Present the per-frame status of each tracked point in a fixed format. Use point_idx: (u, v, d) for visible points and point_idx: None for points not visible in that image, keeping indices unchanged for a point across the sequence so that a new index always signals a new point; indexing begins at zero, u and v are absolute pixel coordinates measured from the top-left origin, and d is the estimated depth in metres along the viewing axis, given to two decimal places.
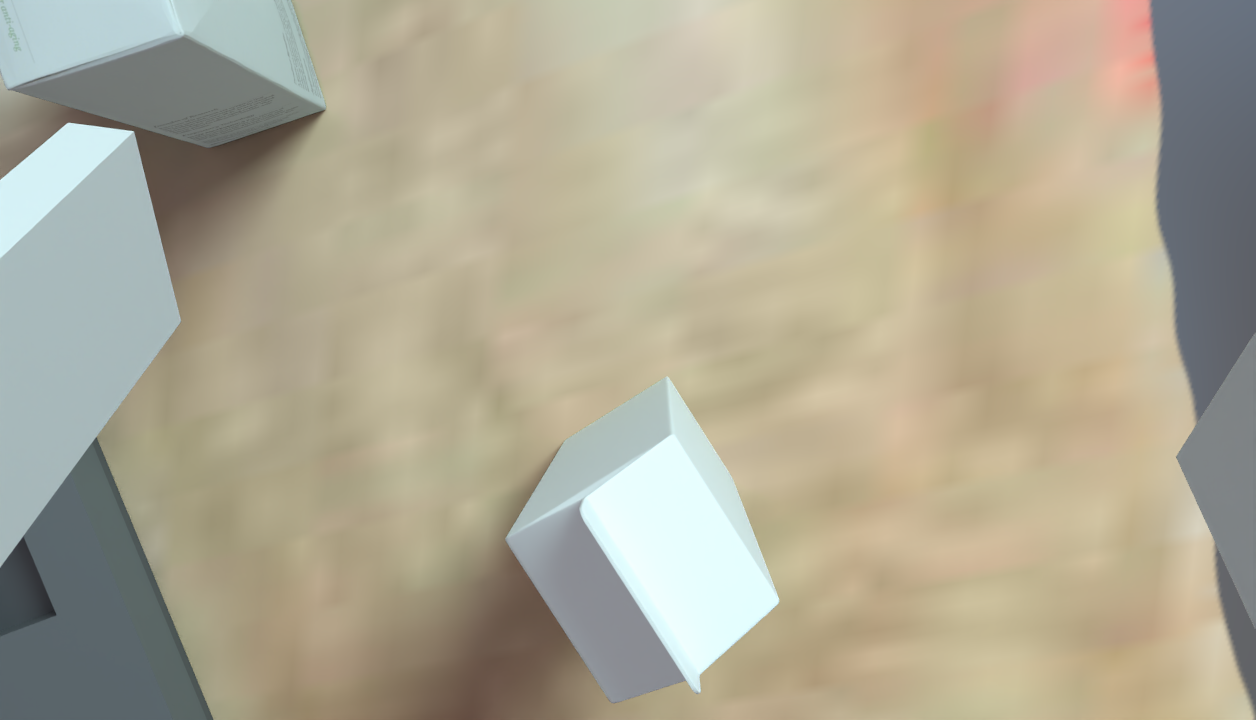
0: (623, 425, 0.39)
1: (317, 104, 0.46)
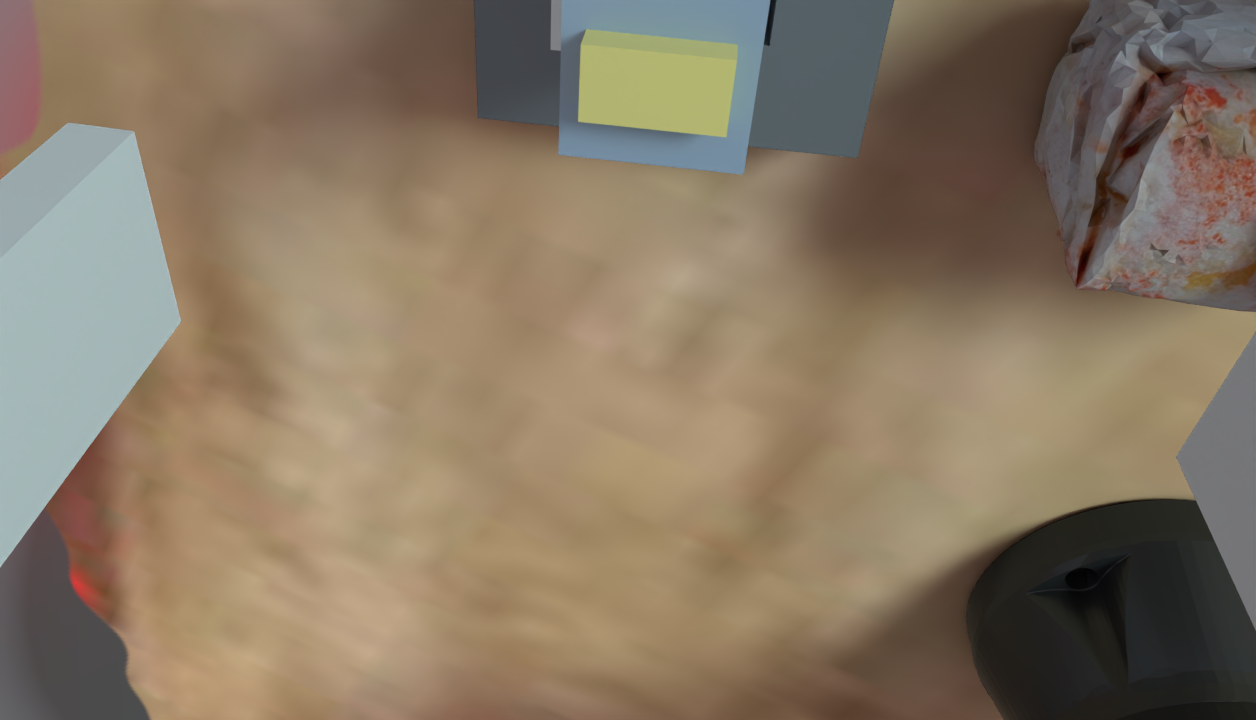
0: None
1: None
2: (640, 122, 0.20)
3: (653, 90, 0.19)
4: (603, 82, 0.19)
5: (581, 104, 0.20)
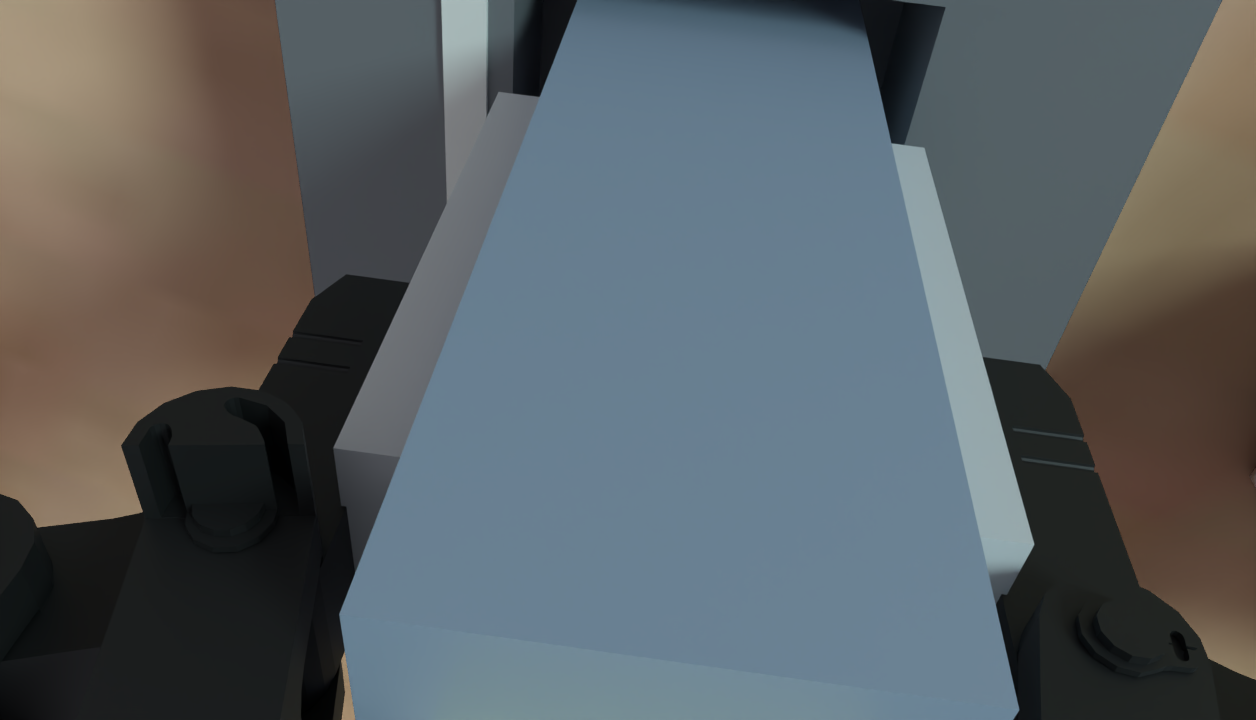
0: None
1: None
2: None
3: None
4: None
5: None
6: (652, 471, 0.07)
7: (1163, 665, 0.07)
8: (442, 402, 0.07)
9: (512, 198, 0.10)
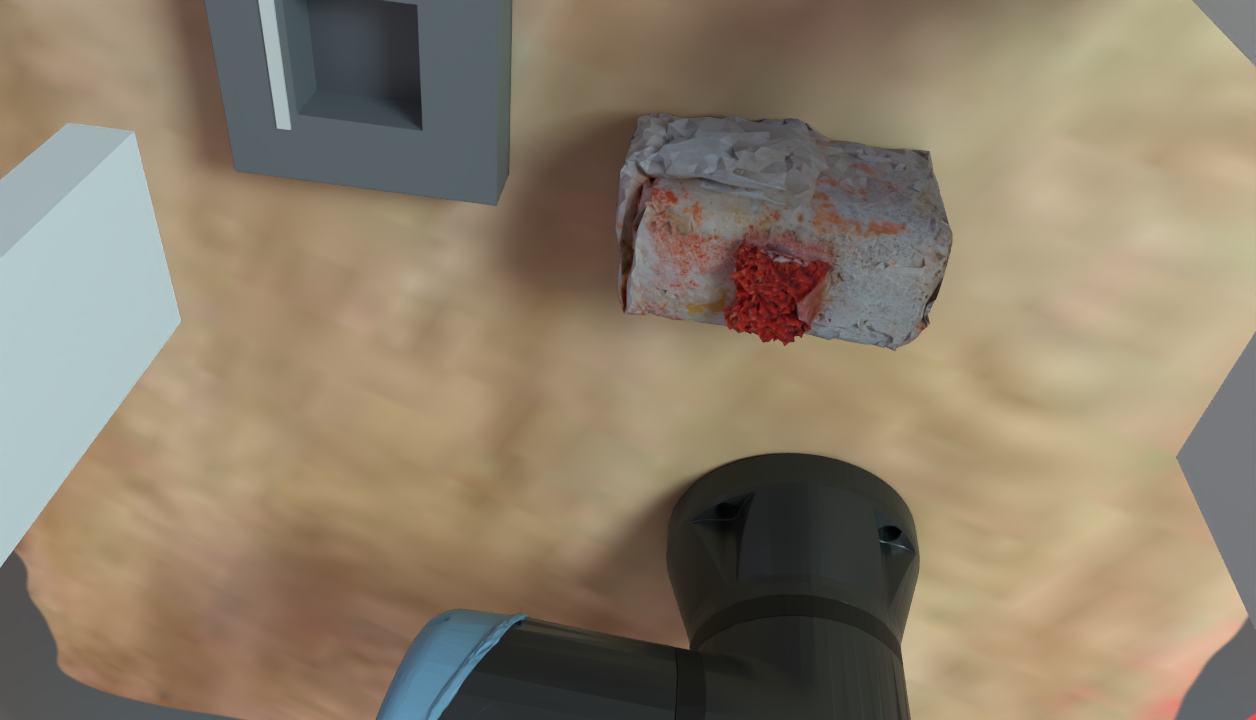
0: None
1: None
2: None
3: None
4: None
5: None
6: None
7: None
8: None
9: None
